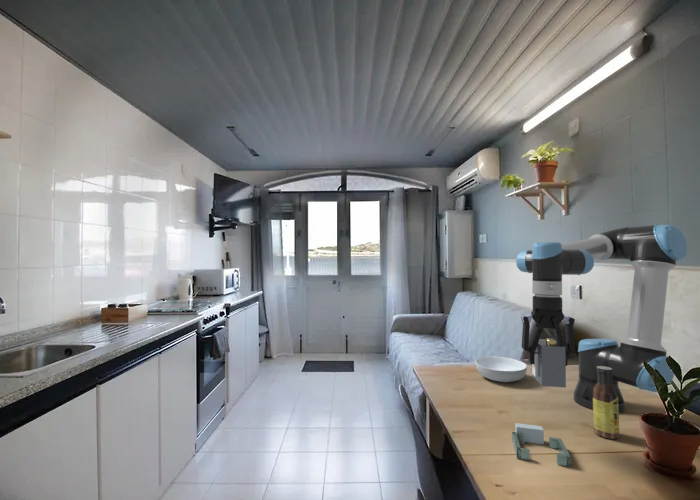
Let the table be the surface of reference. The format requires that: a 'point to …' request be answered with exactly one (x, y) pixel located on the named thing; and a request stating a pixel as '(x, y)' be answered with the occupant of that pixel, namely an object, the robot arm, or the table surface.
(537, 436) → the light grey rectangular block
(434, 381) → the table surface
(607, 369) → the sauce bottle
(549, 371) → the grey box with knob
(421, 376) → the table surface
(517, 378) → the serving bowl
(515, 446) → the socket
